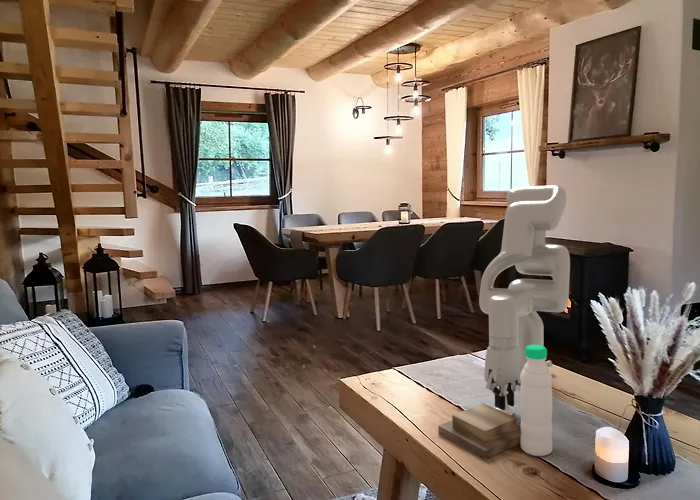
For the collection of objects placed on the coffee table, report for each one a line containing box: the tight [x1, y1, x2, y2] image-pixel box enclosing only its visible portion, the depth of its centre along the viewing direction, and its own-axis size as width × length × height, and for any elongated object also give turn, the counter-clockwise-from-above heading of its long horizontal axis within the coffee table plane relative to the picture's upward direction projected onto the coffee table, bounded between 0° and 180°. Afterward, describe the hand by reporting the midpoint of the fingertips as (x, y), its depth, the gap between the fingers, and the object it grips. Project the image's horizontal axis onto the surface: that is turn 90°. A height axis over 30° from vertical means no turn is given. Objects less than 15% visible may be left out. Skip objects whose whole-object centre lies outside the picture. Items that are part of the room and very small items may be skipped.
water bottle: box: [519, 345, 553, 457], centre depth 123 cm, size 7×7×25 cm
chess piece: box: [495, 383, 515, 416], centre depth 144 cm, size 5×5×10 cm
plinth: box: [437, 403, 521, 460], centre depth 132 cm, size 16×16×5 cm
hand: (504, 405), depth 145 cm, fingers open, 2 cm apart
